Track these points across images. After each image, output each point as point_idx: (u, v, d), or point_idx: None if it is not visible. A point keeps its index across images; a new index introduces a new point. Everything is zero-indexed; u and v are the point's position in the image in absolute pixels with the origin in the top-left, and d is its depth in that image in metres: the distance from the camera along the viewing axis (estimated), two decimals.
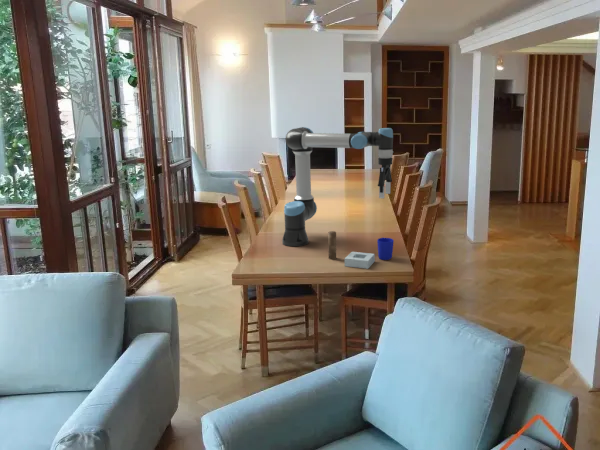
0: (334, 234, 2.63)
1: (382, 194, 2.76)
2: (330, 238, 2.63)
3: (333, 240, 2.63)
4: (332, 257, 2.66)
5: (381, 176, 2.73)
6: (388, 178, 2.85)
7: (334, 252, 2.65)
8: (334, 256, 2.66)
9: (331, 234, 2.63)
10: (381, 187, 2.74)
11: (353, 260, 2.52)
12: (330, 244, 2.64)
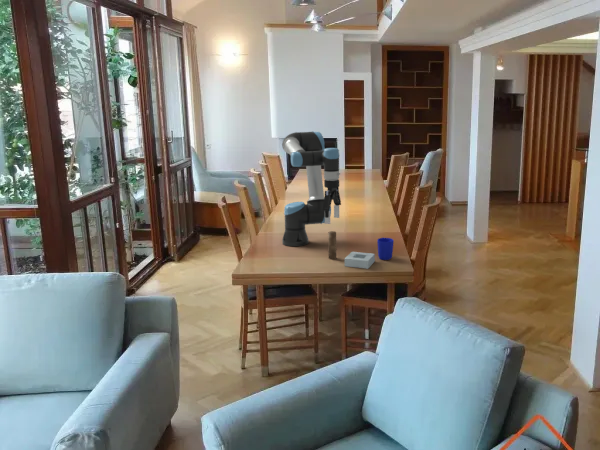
0: (334, 234, 2.63)
1: (328, 219, 2.56)
2: (330, 238, 2.63)
3: (333, 240, 2.63)
4: (332, 257, 2.66)
5: (326, 200, 2.53)
6: (336, 201, 2.65)
7: (334, 252, 2.65)
8: (334, 256, 2.66)
9: (331, 234, 2.63)
10: (326, 212, 2.54)
11: (353, 260, 2.52)
12: (330, 244, 2.64)
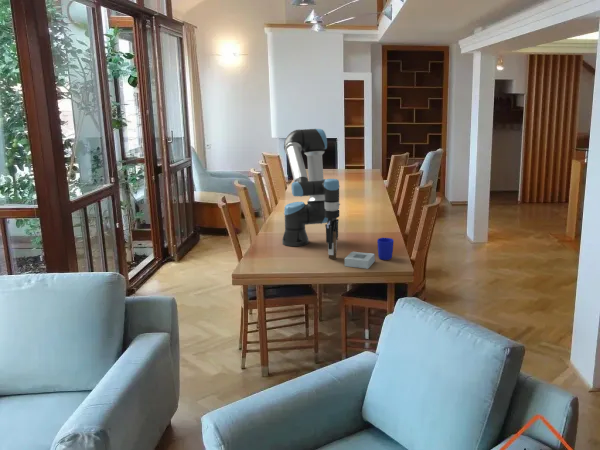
0: (334, 234, 2.63)
1: (331, 251, 2.64)
2: None
3: (333, 240, 2.63)
4: (332, 257, 2.66)
5: (328, 233, 2.59)
6: None
7: (334, 252, 2.65)
8: (334, 256, 2.66)
9: None
10: (330, 244, 2.62)
11: (353, 260, 2.52)
12: None
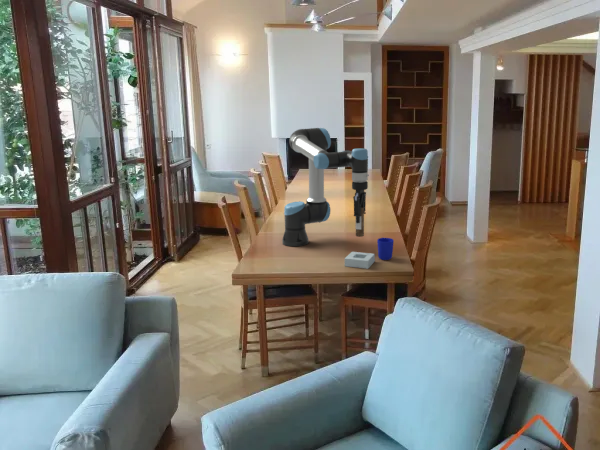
0: (362, 210, 2.50)
1: (359, 225, 2.50)
2: None
3: None
4: (360, 234, 2.52)
5: (356, 206, 2.45)
6: None
7: (362, 229, 2.52)
8: (362, 233, 2.52)
9: None
10: (357, 217, 2.48)
11: (353, 260, 2.52)
12: None
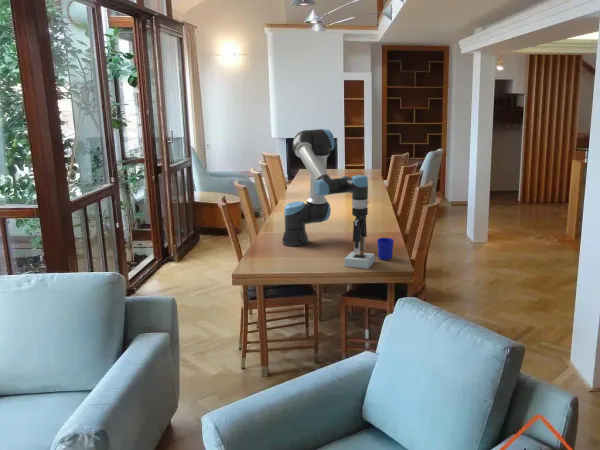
0: (362, 239, 2.53)
1: (357, 250, 2.51)
2: None
3: (360, 245, 2.54)
4: None
5: (355, 231, 2.47)
6: (363, 231, 2.57)
7: (362, 257, 2.55)
8: None
9: None
10: (356, 243, 2.50)
11: (353, 260, 2.52)
12: None
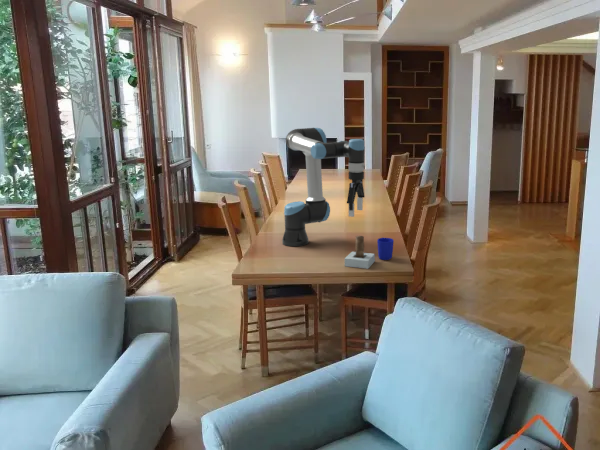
0: (362, 239, 2.53)
1: (352, 212, 2.50)
2: (358, 243, 2.54)
3: (360, 245, 2.54)
4: None
5: (350, 192, 2.47)
6: (360, 193, 2.60)
7: (362, 257, 2.55)
8: None
9: (359, 239, 2.53)
10: (350, 204, 2.48)
11: (353, 260, 2.52)
12: (357, 249, 2.54)
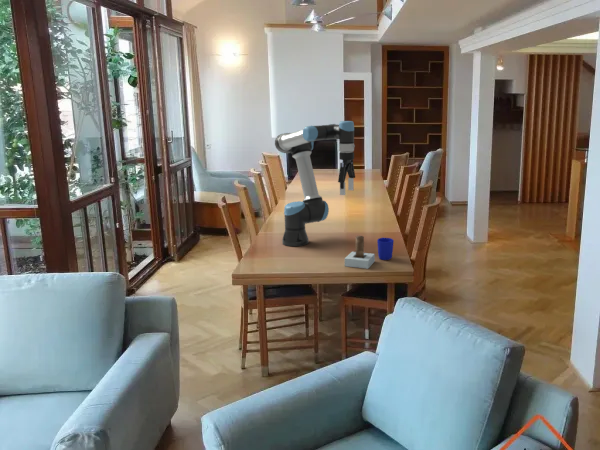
0: (362, 239, 2.53)
1: (343, 190, 2.62)
2: (358, 243, 2.54)
3: (360, 245, 2.54)
4: None
5: (341, 171, 2.59)
6: (351, 174, 2.71)
7: (362, 257, 2.55)
8: None
9: (359, 239, 2.53)
10: (341, 183, 2.60)
11: (353, 260, 2.52)
12: (357, 249, 2.55)
